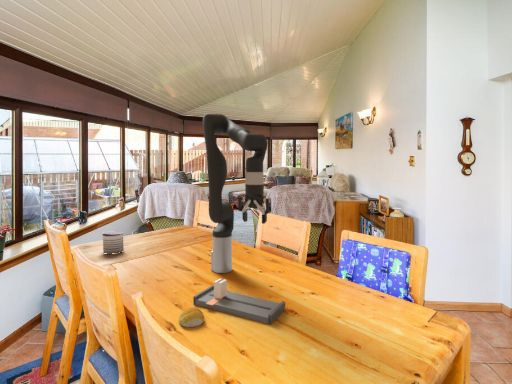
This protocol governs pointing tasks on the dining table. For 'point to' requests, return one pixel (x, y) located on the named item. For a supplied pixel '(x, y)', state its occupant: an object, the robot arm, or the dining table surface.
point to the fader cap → (220, 288)
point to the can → (113, 242)
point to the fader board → (241, 305)
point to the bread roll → (191, 317)
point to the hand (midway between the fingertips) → (254, 222)
